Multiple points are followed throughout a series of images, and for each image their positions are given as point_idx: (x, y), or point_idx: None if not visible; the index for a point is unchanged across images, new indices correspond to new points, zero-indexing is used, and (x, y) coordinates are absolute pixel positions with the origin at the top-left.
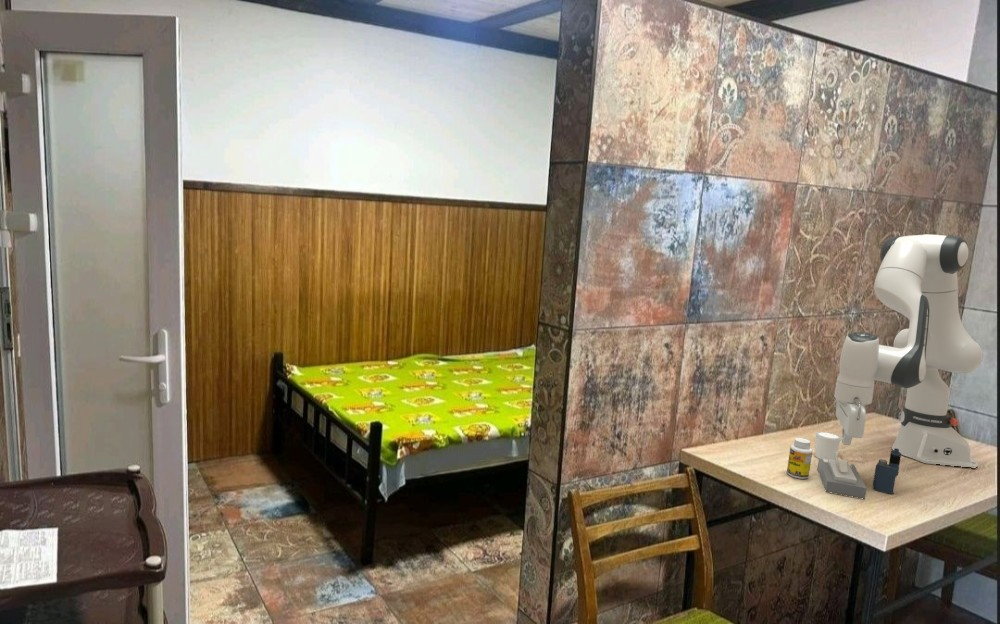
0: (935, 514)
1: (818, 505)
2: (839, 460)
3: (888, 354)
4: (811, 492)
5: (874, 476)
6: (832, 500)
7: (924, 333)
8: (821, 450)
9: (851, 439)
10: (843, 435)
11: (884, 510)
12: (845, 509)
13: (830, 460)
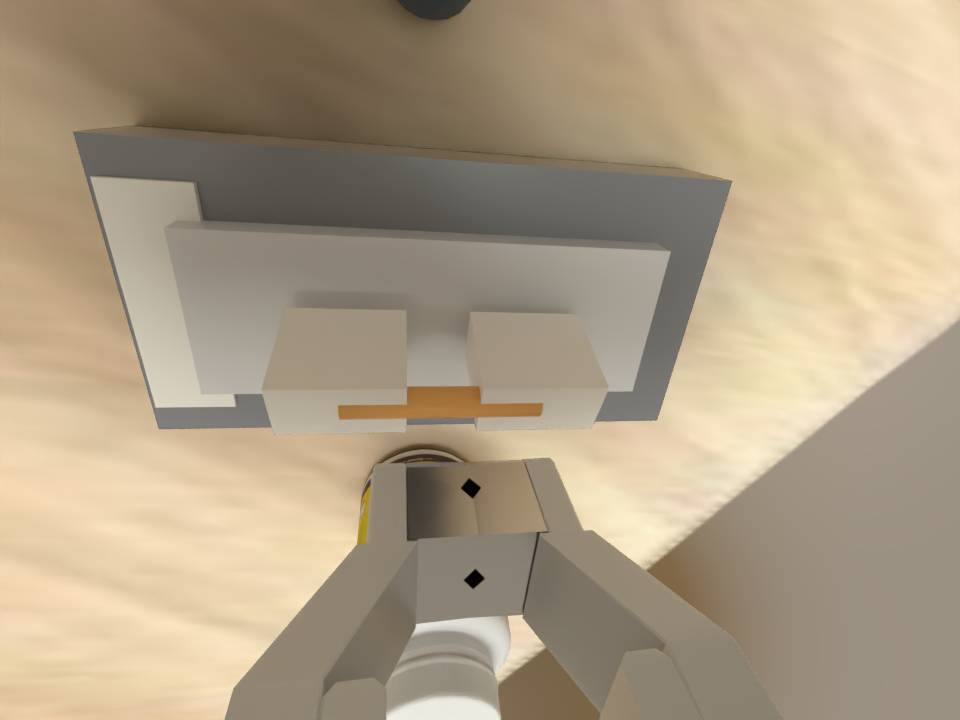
0: None
1: (797, 428)
2: (570, 426)
3: None
4: (647, 443)
5: (445, 4)
6: (730, 363)
7: None
8: None
9: (595, 535)
10: (410, 626)
11: (845, 70)
12: (836, 319)
13: (239, 381)
